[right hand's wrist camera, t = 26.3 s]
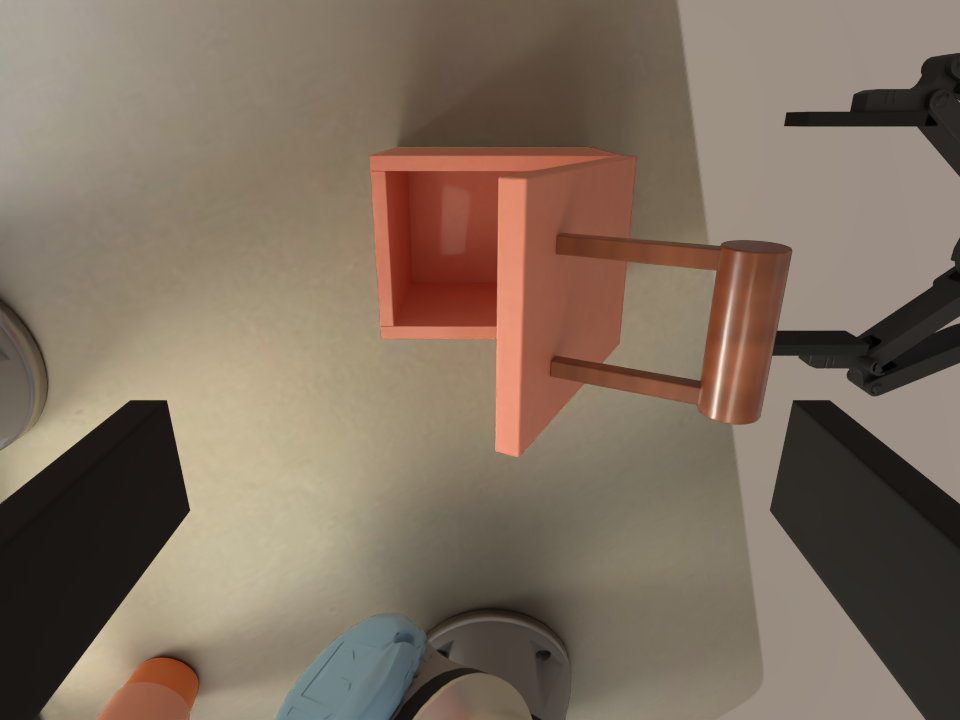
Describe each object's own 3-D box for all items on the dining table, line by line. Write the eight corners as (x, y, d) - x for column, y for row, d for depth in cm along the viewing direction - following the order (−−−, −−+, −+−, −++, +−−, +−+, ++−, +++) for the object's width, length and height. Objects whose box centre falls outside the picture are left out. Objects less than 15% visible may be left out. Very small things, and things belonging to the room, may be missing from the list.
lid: (494, 452, 23) (741, 516, 19) (497, 176, 19) (804, 189, 15) (602, 341, 34) (769, 368, 31) (616, 155, 31) (809, 160, 27)
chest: (403, 290, 45) (380, 339, 35) (396, 146, 41) (369, 154, 31) (580, 290, 45) (609, 339, 35) (589, 147, 41) (624, 155, 31)
